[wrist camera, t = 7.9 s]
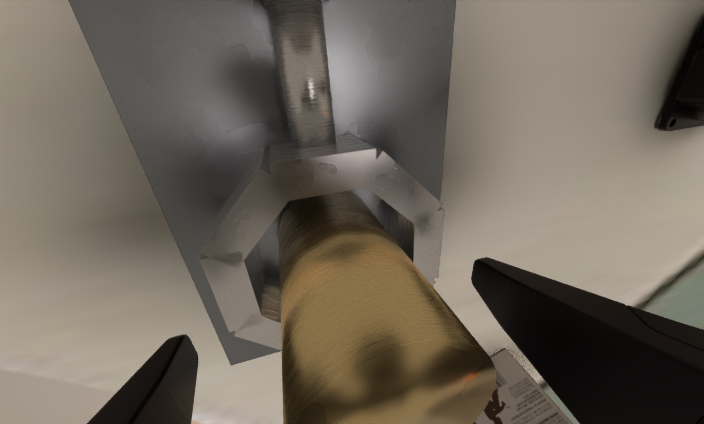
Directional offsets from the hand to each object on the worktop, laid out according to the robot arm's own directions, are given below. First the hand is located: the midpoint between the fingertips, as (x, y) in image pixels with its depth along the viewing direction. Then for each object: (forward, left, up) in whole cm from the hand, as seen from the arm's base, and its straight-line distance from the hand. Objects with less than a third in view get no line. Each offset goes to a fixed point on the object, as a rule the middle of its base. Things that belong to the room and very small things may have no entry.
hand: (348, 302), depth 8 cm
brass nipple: (0, 0, -5) cm, 5 cm away
